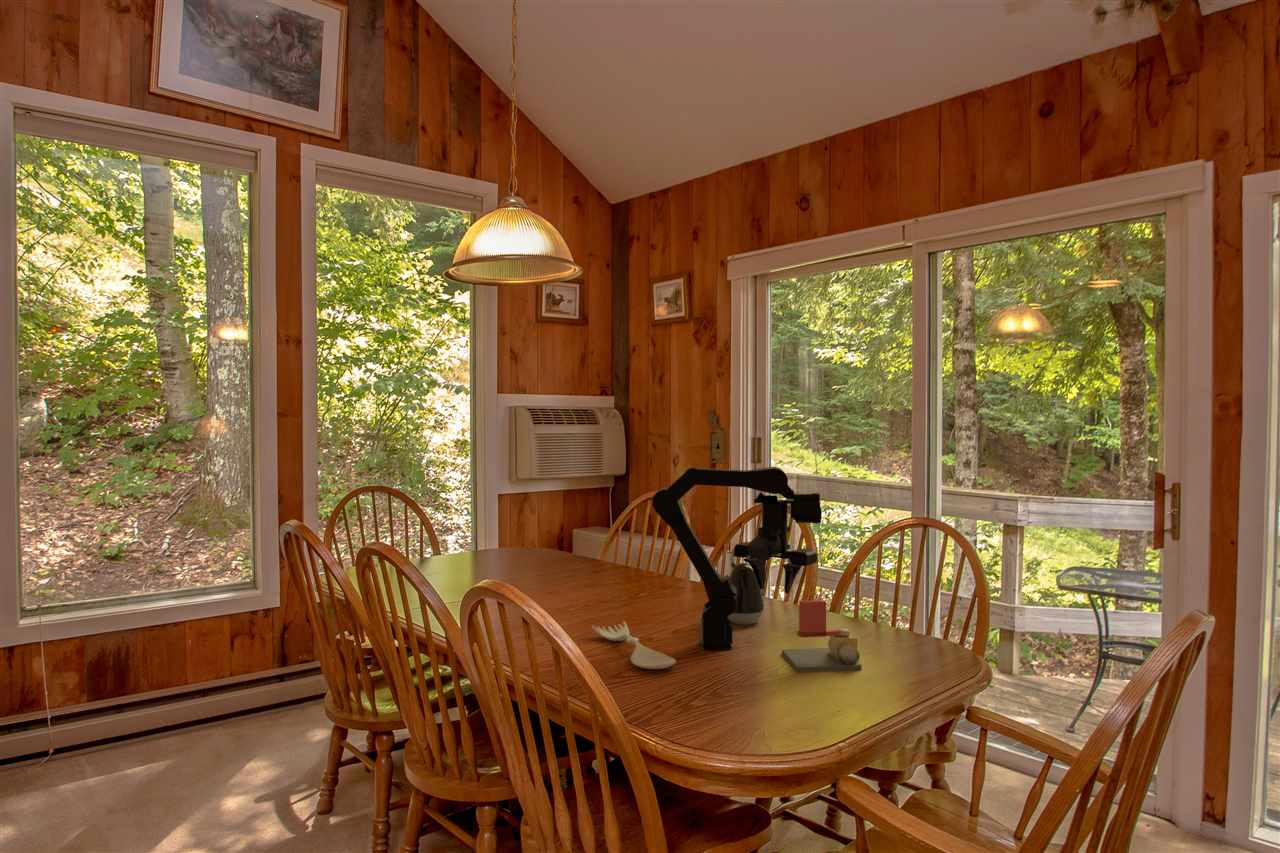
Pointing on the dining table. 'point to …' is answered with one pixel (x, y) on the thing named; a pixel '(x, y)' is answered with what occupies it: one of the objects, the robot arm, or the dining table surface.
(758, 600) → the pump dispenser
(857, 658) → the ball valve
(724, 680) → the dining table surface
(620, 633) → the white double-ended utensil part
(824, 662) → the mounting board
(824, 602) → the valve lever
